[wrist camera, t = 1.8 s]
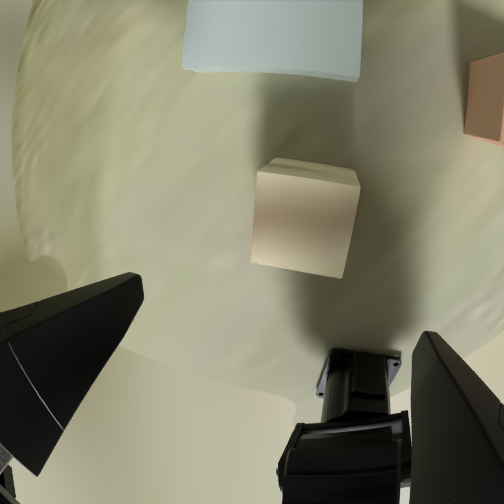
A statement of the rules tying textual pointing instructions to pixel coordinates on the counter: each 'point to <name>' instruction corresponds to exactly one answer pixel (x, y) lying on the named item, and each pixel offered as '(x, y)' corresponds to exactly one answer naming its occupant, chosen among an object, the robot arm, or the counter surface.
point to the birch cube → (304, 216)
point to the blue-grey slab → (275, 37)
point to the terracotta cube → (486, 100)
